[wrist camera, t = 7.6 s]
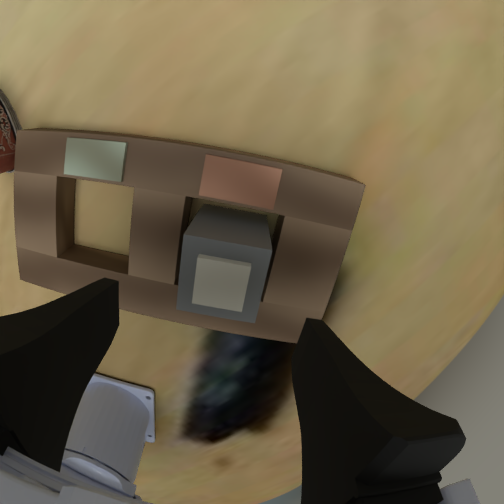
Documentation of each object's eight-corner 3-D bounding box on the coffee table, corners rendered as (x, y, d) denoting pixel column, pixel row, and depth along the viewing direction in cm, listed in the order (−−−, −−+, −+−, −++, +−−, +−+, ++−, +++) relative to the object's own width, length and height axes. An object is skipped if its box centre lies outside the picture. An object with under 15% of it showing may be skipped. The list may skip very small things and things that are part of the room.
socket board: (306, 324, 22) (312, 347, 20) (37, 266, 21) (18, 281, 18) (352, 178, 18) (367, 185, 16) (38, 128, 17) (14, 130, 14)
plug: (254, 271, 21) (255, 328, 15) (195, 261, 21) (174, 313, 15) (266, 214, 19) (273, 253, 14) (203, 203, 19) (181, 237, 13)
